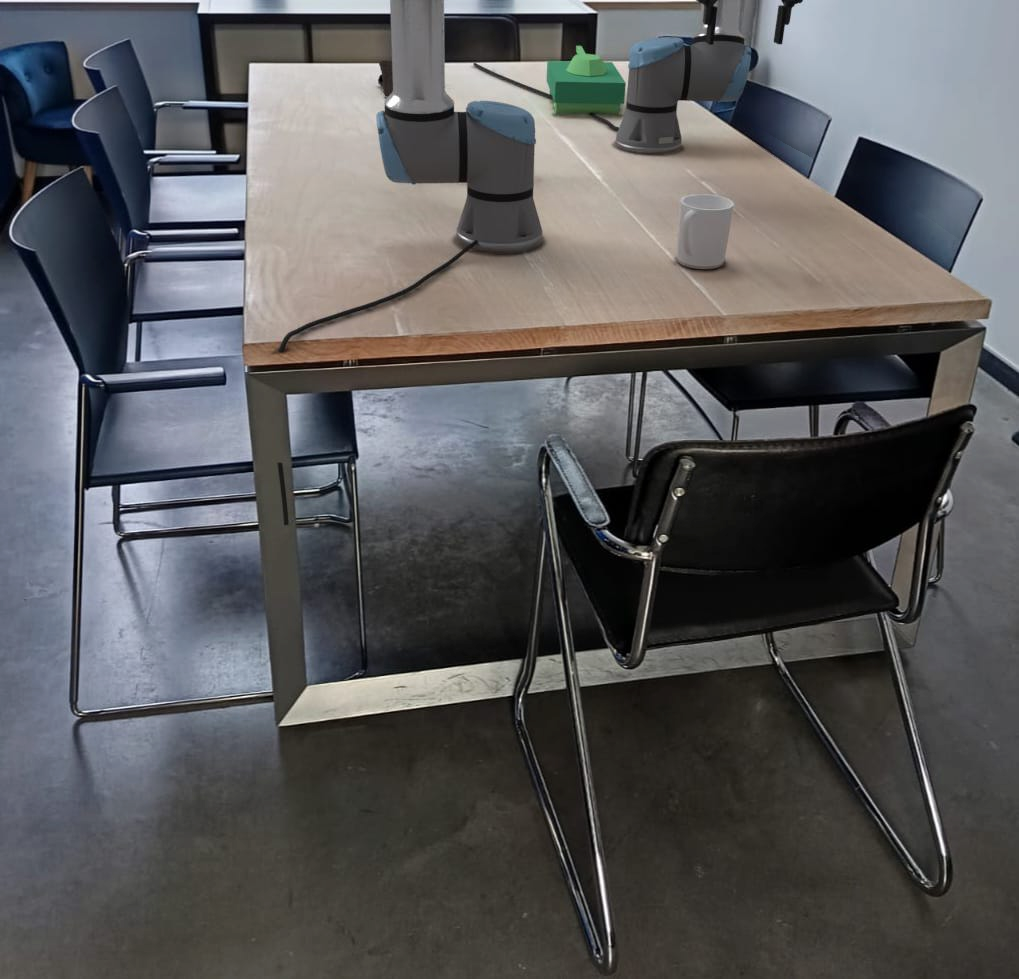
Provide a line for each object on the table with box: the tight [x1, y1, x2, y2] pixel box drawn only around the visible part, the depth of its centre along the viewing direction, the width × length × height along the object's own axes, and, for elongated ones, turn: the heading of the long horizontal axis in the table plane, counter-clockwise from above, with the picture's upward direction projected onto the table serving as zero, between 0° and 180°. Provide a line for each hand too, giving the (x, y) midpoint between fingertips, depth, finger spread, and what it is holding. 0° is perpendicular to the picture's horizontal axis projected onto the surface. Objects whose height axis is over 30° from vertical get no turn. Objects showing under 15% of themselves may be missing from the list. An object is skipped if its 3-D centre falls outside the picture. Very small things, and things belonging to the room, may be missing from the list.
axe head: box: [377, 59, 393, 98], centre depth 299 cm, size 18×8×15 cm
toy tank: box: [546, 45, 627, 116], centre depth 289 cm, size 18×12×35 cm
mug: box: [676, 193, 735, 270], centre depth 185 cm, size 11×9×10 cm
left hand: (418, 138), depth 227 cm, fingers closed on planter, 7 cm apart
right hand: (743, 43), depth 209 cm, fingers open, 13 cm apart
